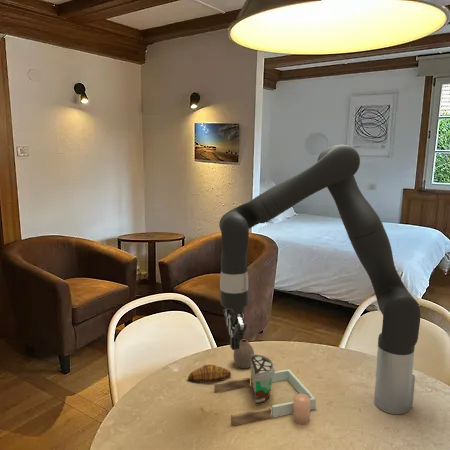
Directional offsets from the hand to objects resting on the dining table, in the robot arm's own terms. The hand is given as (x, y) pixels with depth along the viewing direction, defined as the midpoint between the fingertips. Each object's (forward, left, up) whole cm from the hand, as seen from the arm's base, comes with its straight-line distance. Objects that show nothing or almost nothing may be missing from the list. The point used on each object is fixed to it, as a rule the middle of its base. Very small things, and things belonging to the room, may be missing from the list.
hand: (234, 348), depth 114 cm
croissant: (+3, -16, -18) cm, 24 cm away
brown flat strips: (-2, 0, -17) cm, 17 cm away
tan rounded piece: (-15, +11, -17) cm, 25 cm away
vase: (-10, -20, -17) cm, 28 cm away
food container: (-10, -2, -17) cm, 20 cm away
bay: (-14, 0, -17) cm, 22 cm away
